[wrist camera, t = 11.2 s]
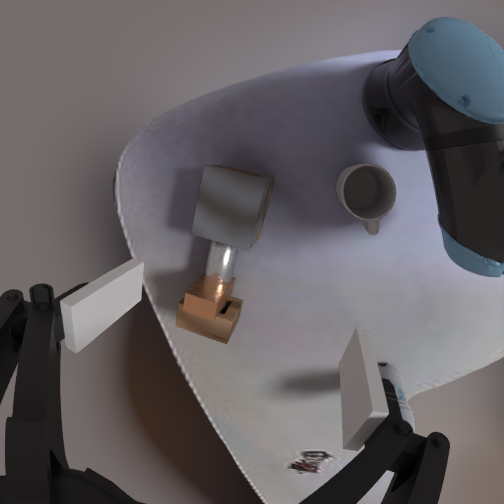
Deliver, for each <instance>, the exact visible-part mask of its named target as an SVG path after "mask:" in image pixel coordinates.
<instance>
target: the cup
mask: <svg viewBox="0 0 504 504" xmlns="http://www.w3.org/2000/svg"><path fill="white" fill-rule="evenodd" d="M336 194H337V196H338V199H339V201H340V202H341V203H342V205H343V206H344V207H345V208H346V209H347V210H348V211H349V212H350V213H351V214H352V215H353V216H354V217H356V218H358V219H361V220H362V222H363V225H364V227H365V229H366V230H367V232H368V233H369V234H371V235H375V234H377V233H378V232H379V219H380V218H382V217H384V216H385V215H387V214H388V213H389V211H390V210H391V209H392V207H393V205H394V203H395V198H396V187H395V184H394V181H393V179H392V177H391V176H390V174H389V173H388V172H387V171H386V170H385V169H384V168H382V167H380V166H378V165H375V164H370V163H368V164H358V165H352V166H349V167H347V168H346V169H344V170H343V171H342V172H341V173H340V175H339V176H338V179H337V181H336Z"/></svg>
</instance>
